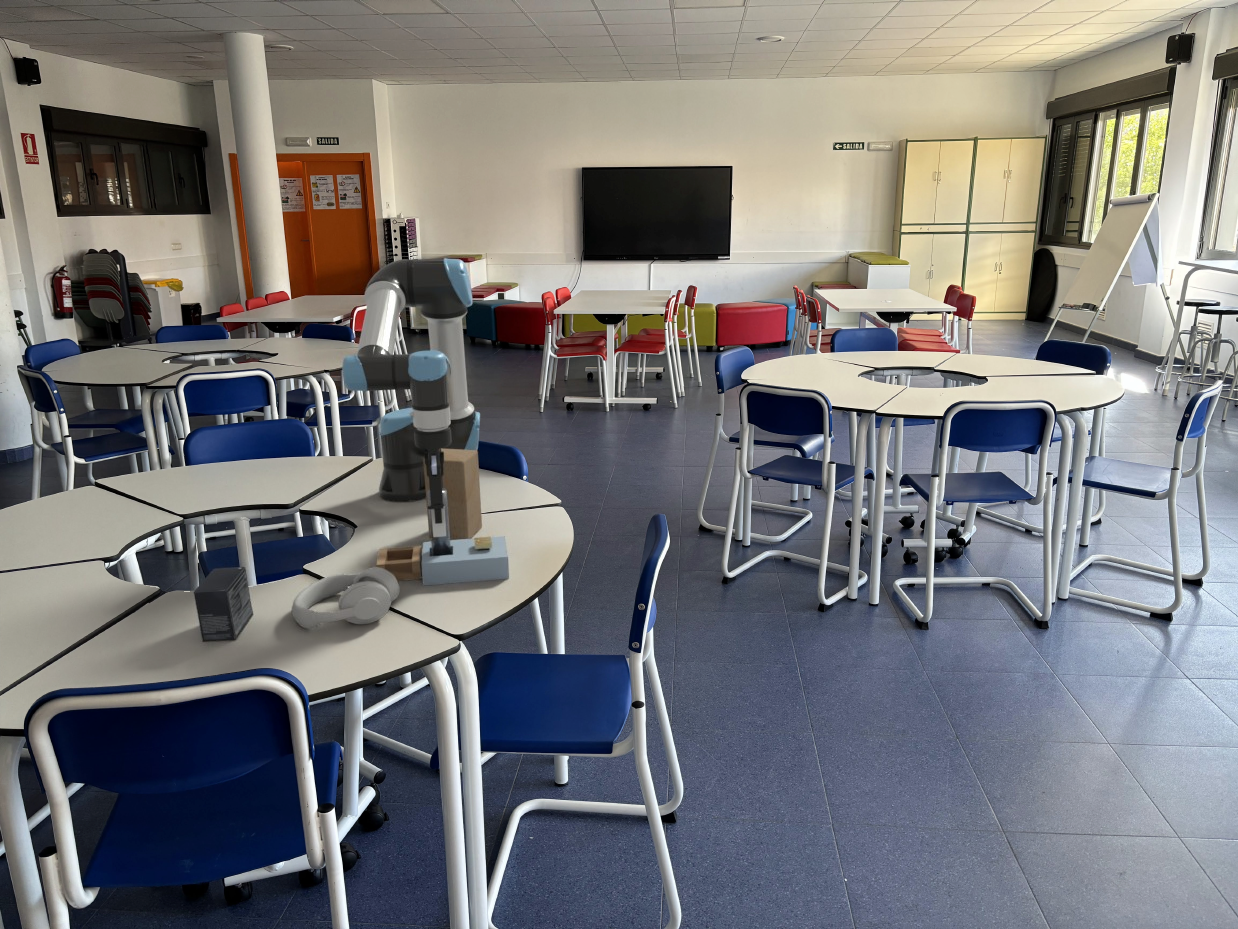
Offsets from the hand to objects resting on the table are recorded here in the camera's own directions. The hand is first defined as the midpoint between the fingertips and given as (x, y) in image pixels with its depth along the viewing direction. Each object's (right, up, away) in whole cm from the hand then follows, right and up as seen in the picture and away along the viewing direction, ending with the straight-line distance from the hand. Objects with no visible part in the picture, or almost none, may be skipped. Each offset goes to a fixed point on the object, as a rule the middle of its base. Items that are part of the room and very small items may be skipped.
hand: (439, 531), depth 186 cm
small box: (-36, -17, -21) cm, 45 cm away
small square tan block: (+9, -7, +4) cm, 12 cm away
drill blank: (0, -6, +2) cm, 7 cm away
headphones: (-15, -15, -15) cm, 26 cm away
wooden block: (-1, -2, +25) cm, 25 cm away
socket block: (+5, -9, +3) cm, 11 cm away
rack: (-9, -9, +3) cm, 13 cm away
